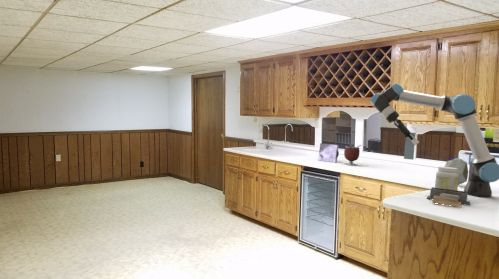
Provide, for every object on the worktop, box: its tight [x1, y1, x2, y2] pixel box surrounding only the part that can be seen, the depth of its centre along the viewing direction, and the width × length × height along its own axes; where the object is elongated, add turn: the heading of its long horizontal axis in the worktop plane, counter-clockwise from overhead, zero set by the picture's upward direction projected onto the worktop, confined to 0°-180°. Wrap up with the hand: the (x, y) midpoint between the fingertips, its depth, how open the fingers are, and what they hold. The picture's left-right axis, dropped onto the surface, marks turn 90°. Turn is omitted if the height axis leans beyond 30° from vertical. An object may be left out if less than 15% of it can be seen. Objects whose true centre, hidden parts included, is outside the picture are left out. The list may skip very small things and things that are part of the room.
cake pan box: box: [318, 143, 340, 164], centre depth 380 cm, size 19×5×18 cm, turn 58°
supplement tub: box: [434, 166, 459, 191], centre depth 230 cm, size 12×12×17 cm
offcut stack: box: [432, 193, 462, 208], centre depth 203 cm, size 8×13×5 cm, turn 59°
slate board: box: [403, 132, 417, 160], centre depth 231 cm, size 3×5×16 cm, turn 59°
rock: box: [444, 157, 469, 186], centre depth 273 cm, size 27×6×20 cm, turn 1°
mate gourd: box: [343, 144, 362, 167], centre depth 362 cm, size 16×14×20 cm
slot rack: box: [426, 186, 471, 206], centre depth 213 cm, size 8×21×6 cm, turn 59°
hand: (417, 143), depth 229 cm, fingers closed on slate board, 3 cm apart
